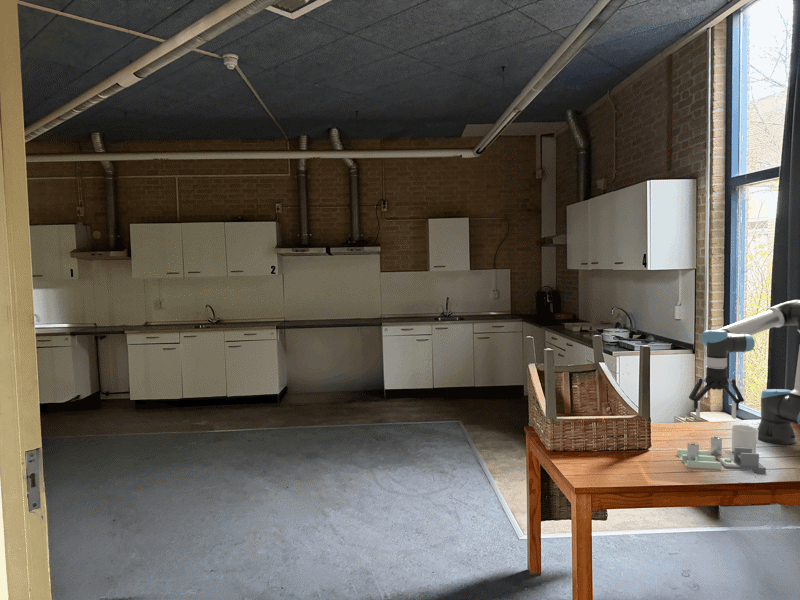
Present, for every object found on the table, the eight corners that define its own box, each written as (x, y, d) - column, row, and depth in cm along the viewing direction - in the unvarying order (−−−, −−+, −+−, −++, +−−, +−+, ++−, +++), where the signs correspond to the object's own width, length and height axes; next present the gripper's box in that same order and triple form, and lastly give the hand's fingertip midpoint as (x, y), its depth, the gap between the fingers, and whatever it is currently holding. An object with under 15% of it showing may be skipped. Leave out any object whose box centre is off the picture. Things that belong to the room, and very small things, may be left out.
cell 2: (719, 455, 230) (719, 435, 229) (723, 458, 226) (723, 438, 225) (709, 454, 230) (709, 434, 230) (712, 457, 227) (712, 437, 226)
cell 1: (696, 462, 218) (697, 441, 218) (699, 466, 214) (700, 444, 214) (685, 462, 219) (686, 441, 219) (688, 465, 215) (689, 444, 215)
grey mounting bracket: (754, 464, 219) (755, 447, 218) (765, 473, 209) (766, 455, 208) (716, 462, 222) (716, 445, 221) (725, 471, 212) (725, 453, 212)
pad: (750, 456, 216) (750, 454, 216) (755, 460, 212) (755, 458, 212) (737, 455, 217) (737, 453, 217) (741, 459, 213) (741, 457, 213)
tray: (708, 458, 225) (708, 450, 225) (721, 472, 211) (721, 463, 211) (677, 457, 228) (677, 448, 228) (687, 470, 214) (687, 461, 213)
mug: (745, 458, 226) (745, 431, 225) (726, 451, 234) (727, 426, 233) (766, 454, 229) (767, 428, 229) (747, 448, 238) (747, 423, 237)
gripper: (746, 366, 227) (745, 416, 228) (681, 364, 233) (680, 413, 234) (753, 369, 220) (752, 421, 221) (686, 368, 225) (685, 418, 227)
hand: (715, 417), depth 227 cm, fingers open, 13 cm apart
